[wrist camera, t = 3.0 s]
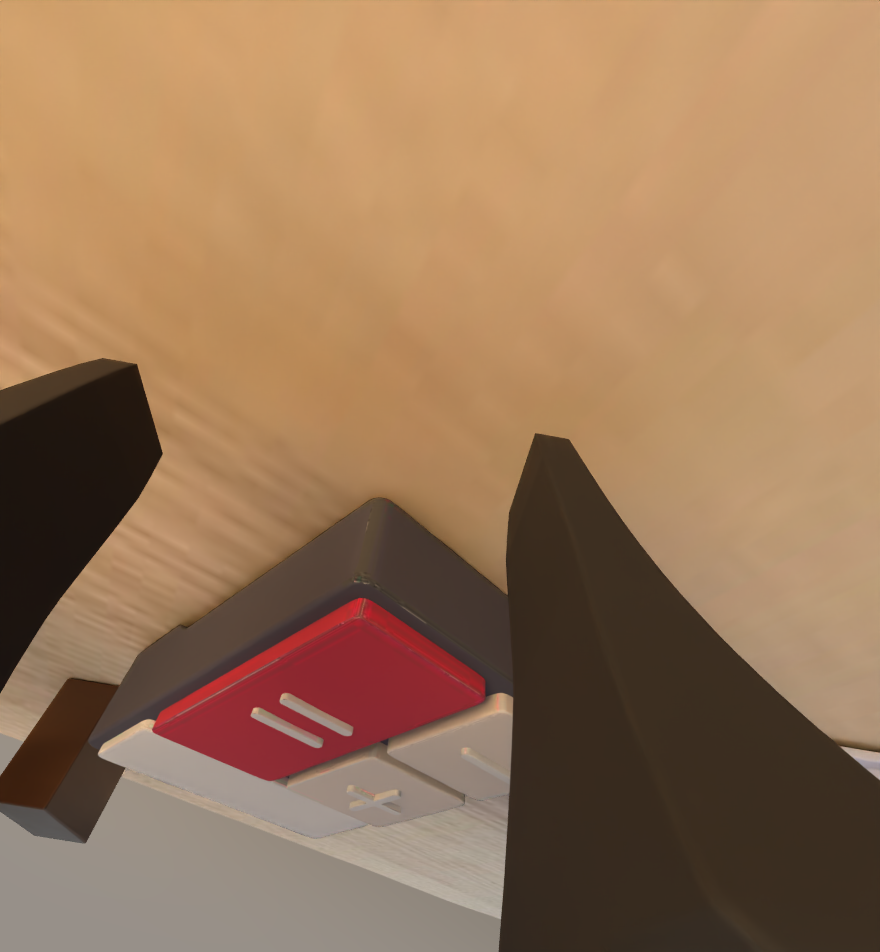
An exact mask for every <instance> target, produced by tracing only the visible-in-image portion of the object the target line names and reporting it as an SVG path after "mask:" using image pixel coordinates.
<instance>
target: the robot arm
mask: <svg viewBox="0 0 880 952" xmlns="http://www.w3.org/2000/svg"><path fill="white" fill-rule="evenodd" d="M162 454H163V453H162V449H161V446H160V442H159V439H158V435H157V432H156V429H155V425H154V422H153V418H152V415H151V411H150V408H149V404H148V401H147V397H146V394H145V391H144V387H143V384H142V380H141V377H140V373H139V370H138V366H137V364H133V363H127V362H121V361H115V360H110V359H104V358H102V359H98V360H94V361H89V362H85V363H82V364H78V365H75V366H72V367H68V368H65V369H62V370H59V371H56V372H53V373H50V374H47V375H44V376H41V377H38V378H35V379H32V380H29V381H26V382H23V383H20V384H17V385H15V386H12V387H9V388H6V389H3V390H0V693H1V691H2V690H3V688H4V686H5V684H6V683H7V681H8V679H9V677H10V676H11V674H12V672H13V670H14V669H15V667H16V666H17V664H18V662H19V661H20V659H21V658H22V656H23V654H24V653H25V651H26V650H27V648H28V646H29V645H30V643H31V642H32V640H33V638H34V637H35V635H36V634H37V632H38V630H39V629H40V627H41V626H42V624H43V622H44V621H45V619H46V618H47V616H48V615H49V614H50V612H51V611H52V609H53V608H54V607H55V605H56V604H57V603H58V601H59V600H60V598H61V597H62V596H63V594H64V593H65V592H66V590H67V589H68V588H69V587H70V585H71V584H72V583H73V582H74V580H75V579H76V578H77V576H78V575H79V574H80V573H81V571H82V570H83V569H84V568H85V566H86V565H87V564H88V562H89V561H90V560H91V559H92V557H93V556H94V555H95V554H96V552H97V551H98V550H99V548H100V547H101V546H102V545H103V543H104V542H105V541H106V540H107V538H108V537H109V536H110V534H111V533H112V532H113V531H114V529H115V528H116V527H117V525H118V524H119V523H120V521H121V520H122V519H123V518H124V516H125V515H126V514H127V512H128V511H129V510H130V508H131V507H132V506H133V504H134V503H135V502H136V500H137V499H138V498H139V496H140V494H141V492H142V491H143V489H144V487H145V486H146V484H147V482H148V480H149V479H150V477H151V475H152V473H153V471H154V469H155V467H156V466H157V464H158V462H159V460H160V458H161V456H162ZM506 567H507V585H508V602H509V618H510V634H511V649H512V665H513V721H512V749H511V771H510V791H509V812H508V828H507V844H506V860H505V876H504V890H503V903H502V916H501V929H500V941H499V952H880V753H878V752H872V751H866V750H860V749H854V748H849V747H843V746H839V745H837V744H836V743H835V742H834V741H833V740H831V739H830V738H829V737H828V736H827V735H826V734H824V733H823V732H822V731H821V730H820V729H818V728H817V727H816V726H815V725H814V724H813V723H812V722H810V721H809V720H808V719H807V718H806V717H805V716H804V715H803V714H801V713H800V712H799V711H798V710H797V709H796V708H795V707H794V706H792V705H791V704H790V703H789V702H788V701H787V700H786V699H785V698H784V697H782V696H781V695H780V694H779V693H778V692H777V691H776V690H775V689H774V688H773V687H772V686H771V685H770V684H769V683H768V682H767V681H765V680H764V679H763V678H762V677H761V676H760V675H759V674H758V673H757V672H756V671H755V670H754V669H753V668H752V667H751V666H750V665H749V664H748V663H747V662H746V661H744V660H743V659H742V658H741V657H740V656H739V655H738V654H737V653H736V652H735V651H734V650H733V649H732V648H731V647H730V646H729V645H728V644H727V643H726V642H725V641H724V640H723V639H722V638H721V637H720V636H719V635H718V634H717V633H716V632H715V631H714V630H713V629H712V627H711V626H710V625H709V624H708V623H707V622H706V621H705V620H704V619H703V618H702V617H701V616H700V614H699V613H698V612H697V611H696V610H695V609H694V608H693V607H692V606H691V605H690V604H689V602H688V601H687V600H686V599H685V598H684V597H683V596H682V595H681V594H680V593H679V591H678V590H677V589H676V588H675V587H674V586H673V584H672V583H671V582H670V581H669V580H668V579H667V577H666V576H665V575H664V574H663V573H662V571H661V570H660V569H659V568H658V566H657V565H656V564H655V563H654V561H653V560H652V559H651V557H650V556H649V555H648V554H647V552H646V551H645V550H644V549H643V547H642V546H641V545H640V544H639V542H638V541H637V540H636V538H635V537H634V536H633V534H632V533H631V532H630V530H629V529H628V528H627V526H626V525H625V523H624V522H623V521H622V519H621V518H620V516H619V515H618V514H617V512H616V511H615V509H614V508H613V506H612V505H611V503H610V502H609V501H608V499H607V498H606V496H605V495H604V493H603V492H602V490H601V489H600V487H599V486H598V484H597V482H596V481H595V479H594V478H593V476H592V475H591V473H590V472H589V470H588V468H587V467H586V465H585V464H584V462H583V461H582V459H581V458H580V456H579V454H578V453H577V451H576V450H575V448H574V447H573V445H572V443H571V442H570V440H569V439H565V438H559V437H554V436H548V435H542V434H536V433H535V436H534V439H533V442H532V445H531V448H530V451H529V454H528V457H527V460H526V463H525V466H524V469H523V472H522V475H521V478H520V481H519V484H518V487H517V490H516V493H515V496H514V499H513V502H512V505H511V509H510V512H509V521H508V535H507V553H506Z"/></svg>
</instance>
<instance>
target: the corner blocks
mask: <svg viewBox="0 0 880 952" xmlns="http://www.w3.org/2000/svg"><path fill="white" fill-rule="evenodd" d="M117 689H118V686H113V685H107V684H101V683H95V682H88V681H82V680H76V679H70V678H69V679H67V681H66V682H65V684H64V685H63V687H62V688H61V689H60V691H59V692H58V694H57V695H56V697H55V698H54V699H53V701H52V702H51V704H50V705H49V707H48V708H47V710H46V711H45V712H44V714H43V715H42V717H41V718H40V720H39V721H38V723H37V724H36V725H35V727H34V728H33V730H32V731H31V733H30V734H29V735H28V737H27V738H26V740H25V741H24V743H23V744H22V746H21V747H20V749H19V750H18V751H17V753H16V754H15V756H14V757H13V758H12V760H11V761H10V763H9V764H8V766H7V767H6V769H5V770H4V771H3V773H2V774H1V776H0V812H2V813H3V814H4V815H6V816H7V817H9V818H10V819H12V820H13V821H14V822H16V823H17V824H19V825H20V826H21V827H23V828H24V829H26V830H27V831H29V832H30V833H31V834H33V835H35V836H40V837H47V838H53V839H59V840H65V841H72V842H78V843H86V842H87V840H88V838H89V836H90V834H91V832H92V830H93V828H94V827H95V825H96V823H97V821H98V819H99V817H100V815H101V813H102V811H103V809H104V808H105V806H106V804H107V802H108V800H109V798H110V796H111V794H112V792H113V791H114V789H115V787H116V785H117V783H118V781H119V779H120V777H121V776H122V774H123V772H124V770H125V767H123V766H120V765H117V764H115V763H112V762H110V761H107V760H105V759H103V758H101V757H99V756H98V752H99V749H96V748H94V747H92V746H91V745H90V744H89V742H88V739H89V737H90V735H91V733H92V732H93V730H94V728H95V726H96V725H97V723H98V721H99V720H100V718H101V716H102V715H103V713H104V711H105V710H106V708H107V706H108V704H109V703H110V701H111V699H112V698H113V696H114V694H115V693H116V691H117Z"/></svg>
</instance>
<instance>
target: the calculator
mask: <svg viewBox="0 0 880 952" xmlns="http://www.w3.org/2000/svg"><path fill="white" fill-rule="evenodd" d="M512 721H513V665H512V649H511V634H510V618H509V602H508V596H506V595H505V594H504V593H503V592H501V591H500V590H499V589H498V588H497V587H495V586H494V585H493V584H492V583H490V582H489V581H488V580H487V579H486V578H484V577H483V576H482V575H481V574H480V573H478V572H477V571H476V570H475V569H473V568H472V567H471V566H470V565H469V564H467V563H466V562H465V561H464V560H463V559H461V558H460V557H459V556H458V555H456V554H455V553H454V552H453V551H452V550H450V549H449V548H448V547H447V546H445V545H444V544H443V543H442V542H441V541H439V540H438V539H437V538H436V537H435V536H433V535H432V534H431V533H430V532H428V531H427V530H426V529H425V528H424V527H422V526H421V525H420V524H419V523H417V522H416V521H415V520H414V519H413V518H411V517H410V516H409V515H408V514H407V513H405V512H404V511H403V510H402V509H400V508H399V507H398V506H397V505H395V504H394V503H393V502H391V501H390V500H388V499H385V498H375V499H372V500H370V501H368V502H367V503H365V504H364V505H362V506H361V507H359V508H358V509H357V510H355V511H354V512H352V513H351V514H349V515H348V516H347V517H345V518H344V519H342V520H341V521H339V522H338V523H337V524H335V525H334V526H332V527H331V528H329V529H328V530H327V531H325V532H324V533H322V534H321V535H319V536H318V537H317V538H315V539H314V540H312V541H311V542H309V543H308V544H307V545H305V546H304V547H302V548H301V549H299V550H298V551H297V552H295V553H294V554H292V555H291V556H289V557H288V558H287V559H285V560H284V561H282V562H281V563H279V564H278V565H277V566H275V567H274V568H272V569H271V570H270V571H268V572H267V573H265V574H264V575H262V576H261V577H260V578H258V579H257V580H255V581H254V582H252V583H251V584H250V585H248V586H247V587H245V588H244V589H242V590H241V591H240V592H238V593H237V594H235V595H234V596H232V597H231V598H230V599H228V600H227V601H225V602H224V603H222V604H221V605H220V606H218V607H217V608H215V609H214V610H212V611H211V612H210V613H208V614H207V615H205V616H204V617H202V618H201V619H200V620H198V621H197V622H195V623H194V624H192V625H191V626H190V627H188V628H187V627H185V626H183V625H179V626H178V627H176V628H175V629H173V630H172V631H170V632H169V633H168V634H166V635H165V636H163V637H162V638H161V639H159V640H158V641H156V642H155V643H154V644H152V645H151V646H149V647H148V648H147V649H145V650H144V651H143V652H141V653H140V654H139V655H138V656H137V657H136V659H135V661H134V662H133V664H132V666H131V667H130V669H129V671H128V672H127V674H126V676H125V677H124V679H123V681H122V682H121V684H120V686H119V687H118V689H117V691H116V693H115V694H114V696H113V698H112V699H111V701H110V703H109V704H108V706H107V708H106V710H105V711H104V713H103V715H102V716H101V718H100V720H99V721H98V723H97V725H96V726H95V728H94V730H93V732H92V733H91V735H90V737H89V739H88V742H89V744H90V745H91V746H92V747H94V748H96V749H99V752H98V756H99V757H101V758H103V759H105V760H107V761H110V762H112V763H115V764H117V765H120V766H123V767H125V768H128V769H131V770H133V771H136V772H138V773H141V774H144V775H146V776H149V777H152V778H154V779H157V780H159V781H162V782H165V783H167V784H170V785H173V786H175V787H178V788H181V789H183V790H186V791H188V792H191V793H194V794H196V795H199V796H202V797H204V798H207V799H209V800H212V801H215V802H217V803H220V804H223V805H225V806H228V807H230V808H233V809H236V810H238V811H241V812H244V813H246V814H249V815H251V816H254V817H257V818H259V819H262V820H265V821H267V822H270V823H273V824H275V825H278V826H280V827H283V828H286V829H288V830H291V831H294V832H296V833H299V834H301V835H304V836H307V837H310V838H314V839H317V838H322V837H326V836H330V835H334V834H337V833H341V832H345V831H348V830H352V829H356V828H360V827H363V826H366V825H368V824H369V825H372V826H375V827H384V826H388V825H392V824H396V823H400V822H403V821H407V820H411V819H415V818H419V817H423V816H427V815H430V814H434V813H438V812H442V811H446V810H450V809H454V808H457V807H461V806H463V805H464V804H465V795H467V796H469V797H471V798H473V799H475V800H479V801H483V800H488V799H492V798H496V797H500V796H504V795H508V794H509V791H510V771H511V749H512Z"/></svg>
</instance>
